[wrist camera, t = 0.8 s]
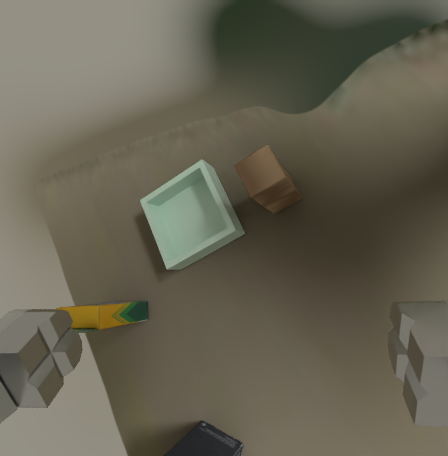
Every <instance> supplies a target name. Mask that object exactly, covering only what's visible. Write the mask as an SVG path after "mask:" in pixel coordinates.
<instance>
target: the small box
mask: <svg viewBox="0 0 448 456" xmlns="http://www.w3.org/2000/svg"><path fill="white" fill-rule="evenodd" d="M242 448H243V444H242V443H241V442H240V441H238V440H236V439H234V438H233V437H230V436H228V435H227V434H225V433H223V432H222V431H220V430H218V429H216V428H215V427H214V426H212V425H210V424H208V423H206V422H204V421H201V422H200V423H199V424H198V425H197V426H196V427H195V428H194V429H193V430H192V431H190V432H189V433H188V434H187V435H186V436H185V437H184V438H183V439H182V440H181V441H179V442H178V443H177V444H176V445H175V446H174V447H173V448H172V449H171V450H169V451H168V452H167V453H166V454H165V455H164V456H241V452H242Z"/></svg>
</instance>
